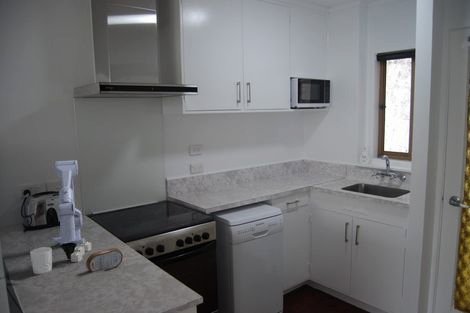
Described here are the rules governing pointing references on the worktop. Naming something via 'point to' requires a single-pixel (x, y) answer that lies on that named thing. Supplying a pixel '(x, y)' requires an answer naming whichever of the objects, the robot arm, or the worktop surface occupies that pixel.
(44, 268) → the white cup
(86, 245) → the light grey block
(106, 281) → the worktop surface
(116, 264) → the tin
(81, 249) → the tab
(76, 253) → the tab
